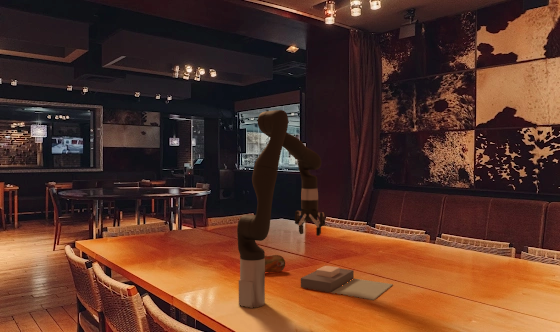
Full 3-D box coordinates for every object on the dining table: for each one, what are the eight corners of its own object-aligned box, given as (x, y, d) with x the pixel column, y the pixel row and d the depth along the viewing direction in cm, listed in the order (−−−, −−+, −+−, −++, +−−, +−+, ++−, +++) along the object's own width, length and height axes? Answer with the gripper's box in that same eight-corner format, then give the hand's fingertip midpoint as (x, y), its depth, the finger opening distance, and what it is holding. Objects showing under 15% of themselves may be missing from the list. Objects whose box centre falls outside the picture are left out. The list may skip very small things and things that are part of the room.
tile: (330, 277, 182) (330, 271, 182) (316, 275, 186) (316, 269, 186) (339, 272, 190) (339, 267, 190) (325, 270, 193) (325, 265, 193)
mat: (373, 300, 164) (373, 299, 164) (331, 292, 174) (331, 291, 174) (392, 285, 185) (392, 284, 185) (354, 279, 194) (354, 278, 194)
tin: (254, 274, 203) (254, 256, 203) (253, 272, 206) (253, 255, 206) (285, 272, 207) (285, 254, 207) (283, 270, 210) (283, 253, 210)
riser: (330, 292, 174) (330, 282, 174) (300, 287, 181) (300, 278, 181) (353, 279, 194) (353, 270, 194) (325, 274, 202) (325, 266, 201)
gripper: (291, 198, 193) (291, 234, 193) (320, 200, 185) (320, 237, 185) (299, 197, 199) (300, 232, 199) (327, 198, 191) (327, 234, 192)
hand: (309, 234), depth 192 cm, fingers open, 8 cm apart
